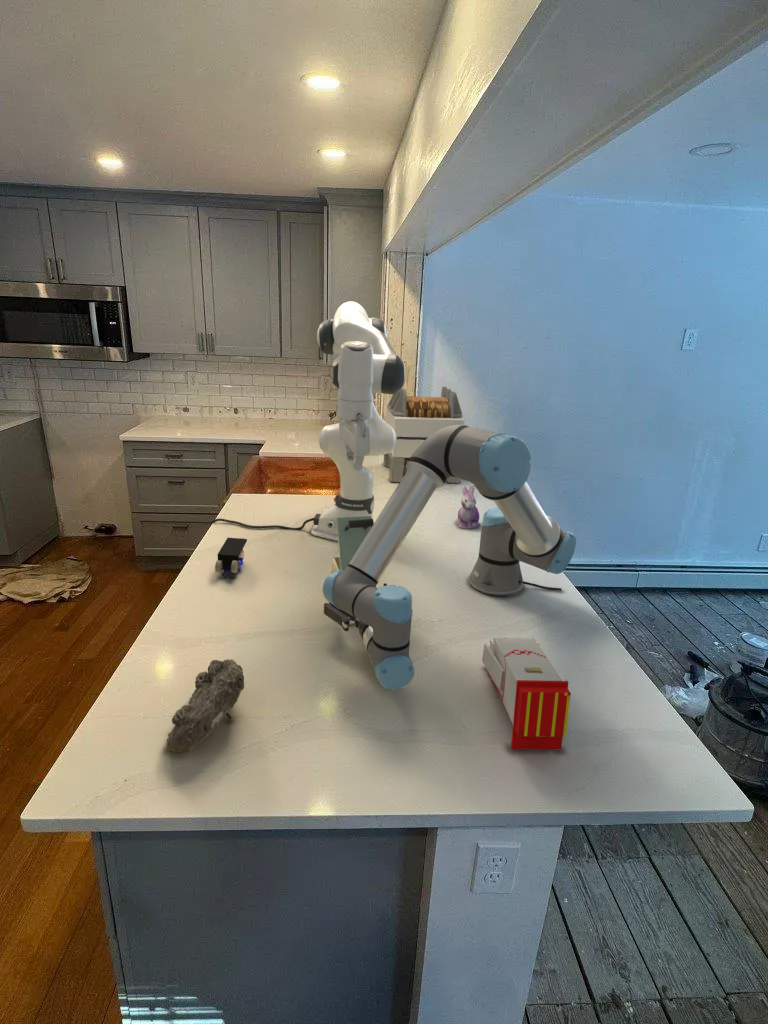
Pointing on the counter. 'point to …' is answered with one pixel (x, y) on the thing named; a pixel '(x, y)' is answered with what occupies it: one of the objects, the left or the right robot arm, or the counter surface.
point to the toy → (529, 692)
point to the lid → (351, 536)
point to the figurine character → (230, 556)
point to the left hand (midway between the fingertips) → (353, 464)
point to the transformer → (418, 425)
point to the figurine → (468, 510)
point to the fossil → (206, 705)
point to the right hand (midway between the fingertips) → (358, 590)
